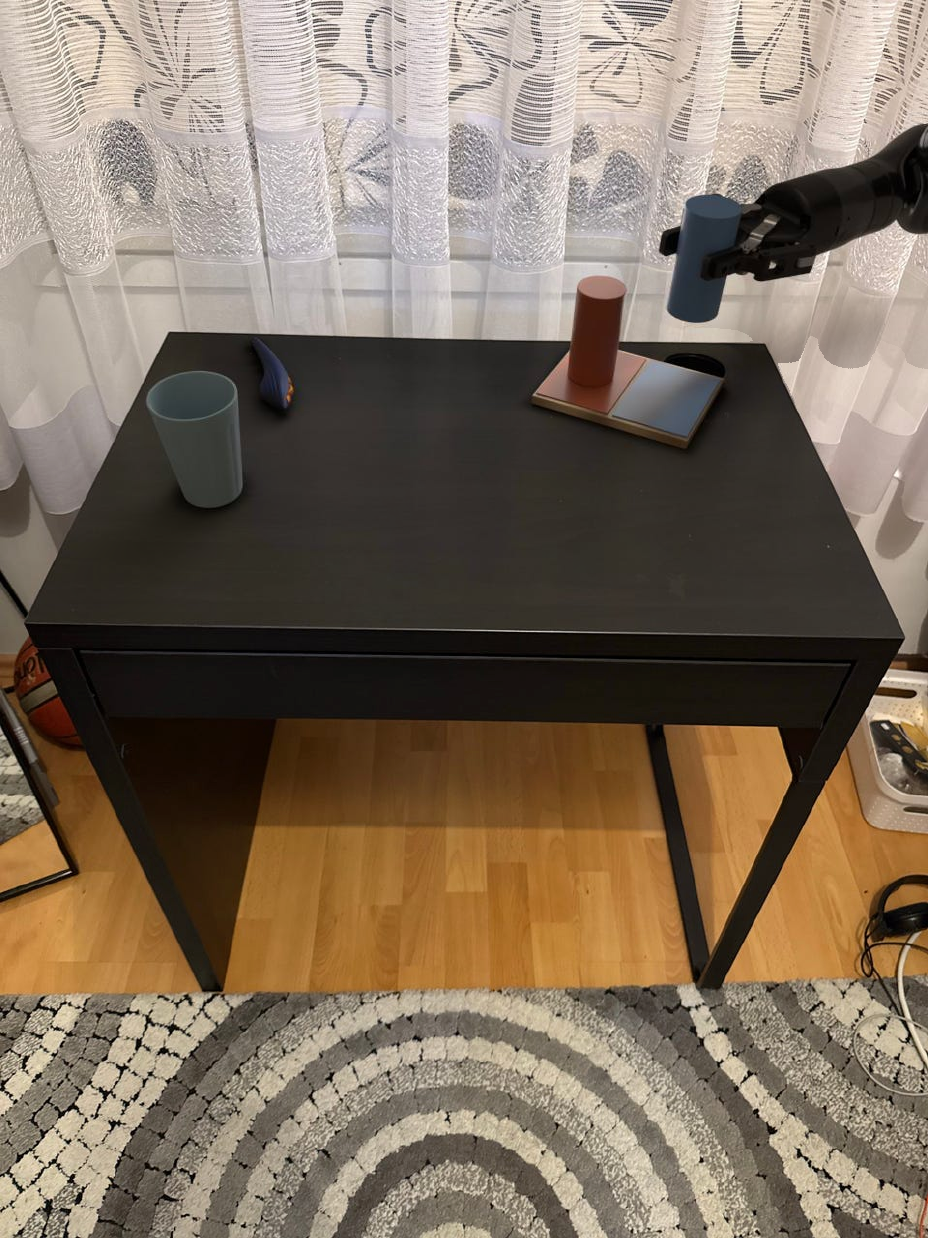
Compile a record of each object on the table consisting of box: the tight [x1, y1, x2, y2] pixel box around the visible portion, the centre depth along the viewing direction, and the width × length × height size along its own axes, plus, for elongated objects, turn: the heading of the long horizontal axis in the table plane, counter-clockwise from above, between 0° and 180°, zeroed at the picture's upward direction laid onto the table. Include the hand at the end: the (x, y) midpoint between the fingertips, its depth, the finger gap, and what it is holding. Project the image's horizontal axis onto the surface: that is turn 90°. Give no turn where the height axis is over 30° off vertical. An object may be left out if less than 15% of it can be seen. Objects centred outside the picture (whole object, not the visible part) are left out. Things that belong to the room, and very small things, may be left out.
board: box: [531, 349, 725, 450], centre depth 100 cm, size 17×13×1 cm
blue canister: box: [665, 194, 742, 324], centre depth 86 cm, size 5×5×10 cm
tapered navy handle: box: [250, 336, 294, 411], centre depth 100 cm, size 16×4×2 cm, turn 20°
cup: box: [145, 370, 244, 509], centre depth 84 cm, size 8×8×10 cm
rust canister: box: [567, 275, 628, 387], centre depth 97 cm, size 5×5×10 cm
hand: (683, 256), depth 85 cm, fingers closed on blue canister, 5 cm apart
